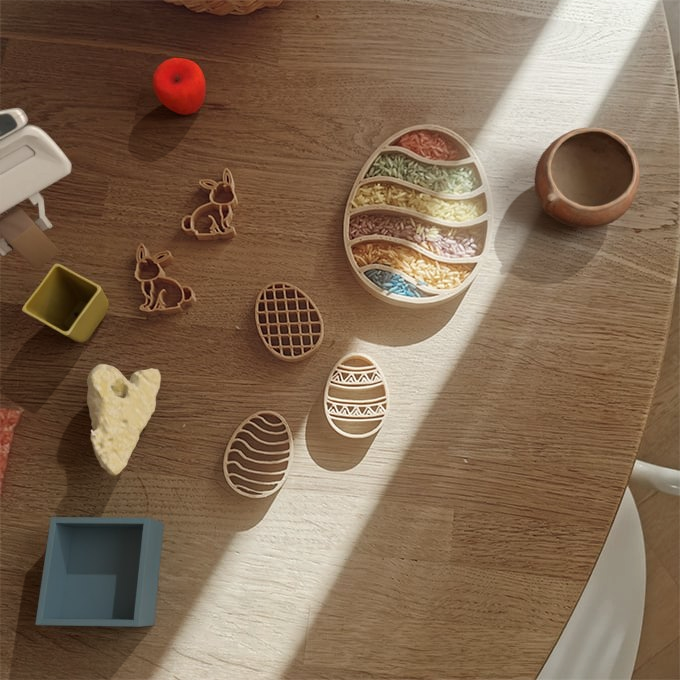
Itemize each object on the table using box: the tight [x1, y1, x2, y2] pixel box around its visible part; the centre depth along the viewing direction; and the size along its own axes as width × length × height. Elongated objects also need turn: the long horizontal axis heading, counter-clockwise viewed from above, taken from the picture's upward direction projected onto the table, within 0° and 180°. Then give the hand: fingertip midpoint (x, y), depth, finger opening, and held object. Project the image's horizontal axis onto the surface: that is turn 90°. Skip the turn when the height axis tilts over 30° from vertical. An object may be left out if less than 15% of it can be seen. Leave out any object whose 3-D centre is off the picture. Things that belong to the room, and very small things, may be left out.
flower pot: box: [21, 263, 110, 343], centre depth 112 cm, size 9×9×9 cm
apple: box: [152, 57, 207, 116], centre depth 125 cm, size 9×9×8 cm
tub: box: [34, 516, 165, 628], centre depth 99 cm, size 14×14×7 cm
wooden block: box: [0, 205, 60, 270], centre depth 95 cm, size 4×4×8 cm
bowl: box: [534, 126, 641, 229], centre depth 114 cm, size 16×16×10 cm
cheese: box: [86, 363, 162, 476], centre depth 107 cm, size 15×7×15 cm
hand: (28, 240), depth 95 cm, fingers closed on wooden block, 4 cm apart
